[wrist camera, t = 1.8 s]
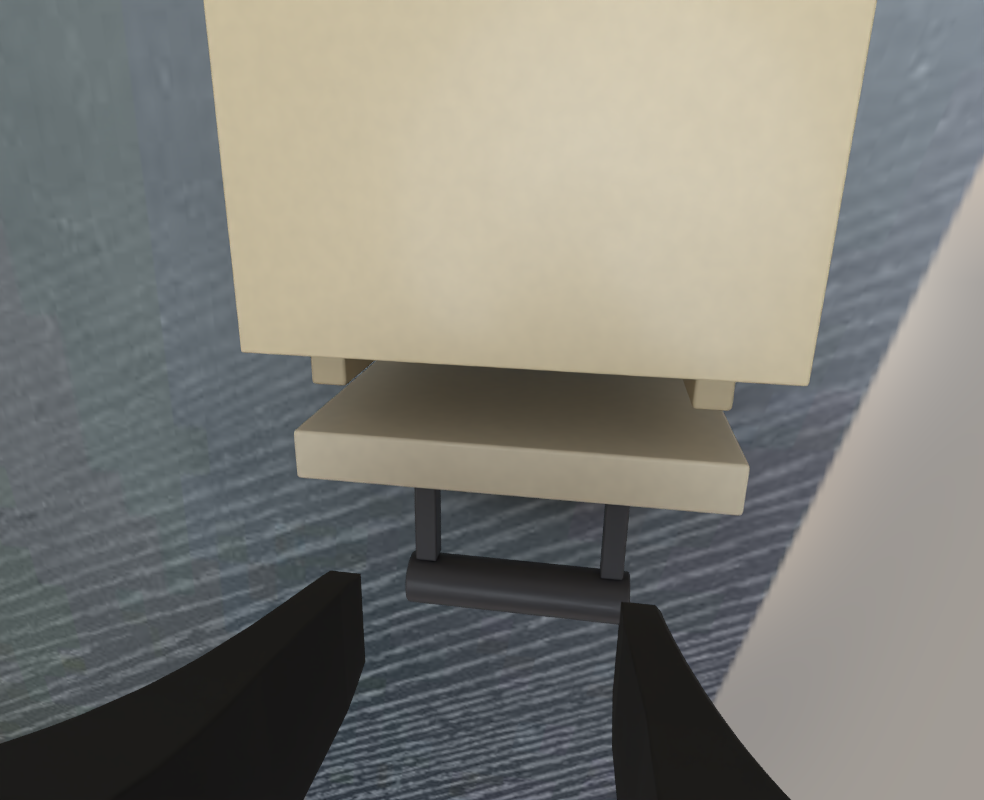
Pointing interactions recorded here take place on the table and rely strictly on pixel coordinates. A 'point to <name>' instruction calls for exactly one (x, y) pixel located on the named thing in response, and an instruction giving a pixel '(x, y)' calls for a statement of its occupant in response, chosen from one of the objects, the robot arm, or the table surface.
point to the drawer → (525, 464)
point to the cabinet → (538, 179)
